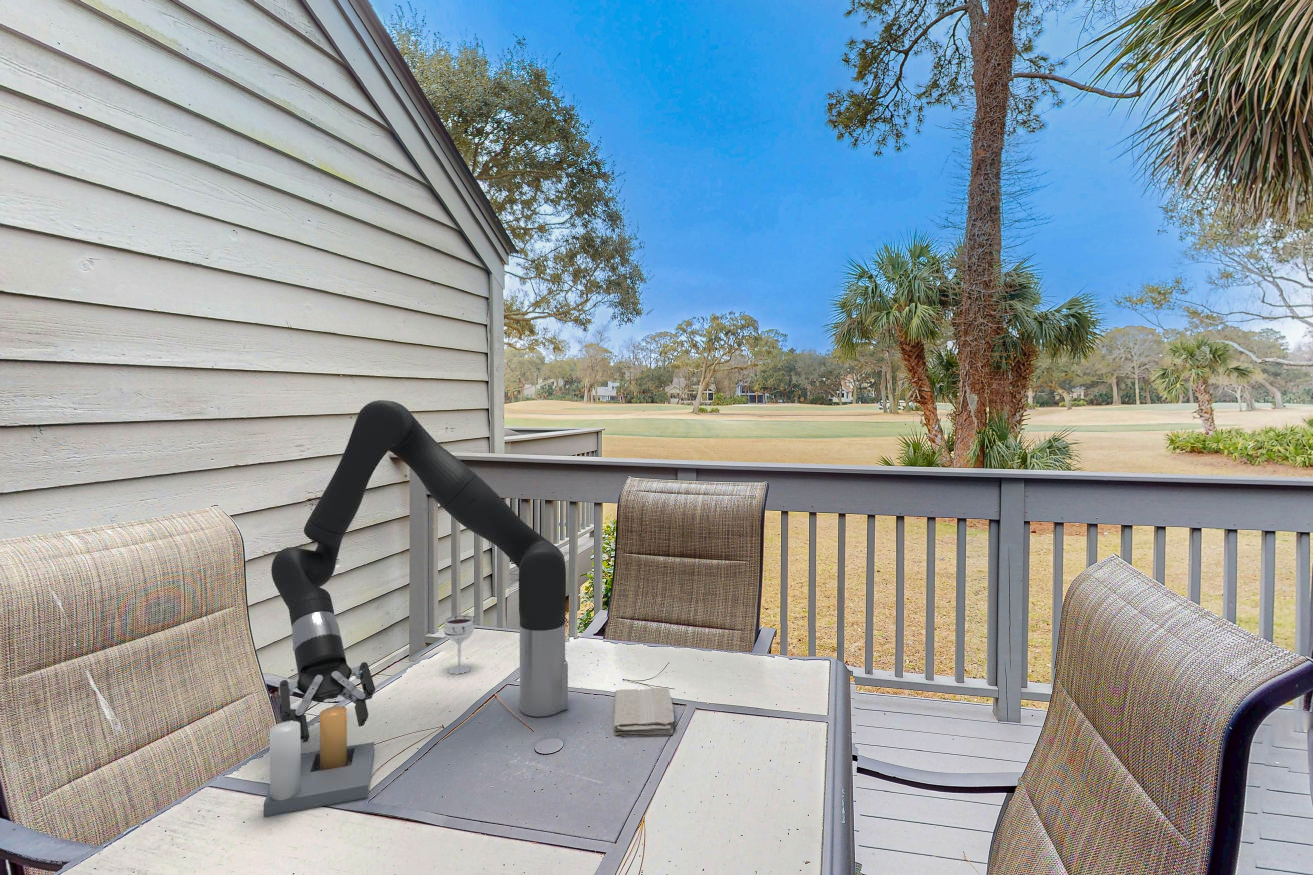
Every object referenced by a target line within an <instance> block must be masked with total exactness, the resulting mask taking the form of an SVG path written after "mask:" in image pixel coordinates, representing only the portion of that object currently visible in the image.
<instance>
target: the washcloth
mask: <svg viewBox="0 0 1313 875" xmlns="http://www.w3.org/2000/svg"><path fill="white" fill-rule="evenodd" d="M613 697H614V698H613V700H614V701H613V703H614V705H613V708H614V709H613V720H612V721H613V722H612V723H613V725H612V726H613V735H614V736H613V737H617V736H621V737H627V738H628V737H629V738H631V737H635V738H637V737H638V738H639V737H663V736H664V737H665V736H671V735H673V734H674V723H675V714H674V711H675V710H674V706H673V701H672V697H671V692H670V688H669V687H651V688H647V689H646V688H642V689H638V688H637V689H635V688H633V689H632V688H631V689H629V688H627V689H616V690H615V691H614V695H613Z"/></svg>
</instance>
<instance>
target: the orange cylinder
mask: <svg viewBox="0 0 1313 875" xmlns="http://www.w3.org/2000/svg"><path fill="white" fill-rule="evenodd" d="M347 710H348V709H347V708H346V707H345V706H341V705H339V706H337V705H336V706H330V707H327V708H325V709H323V710H322V711H320V712H319V751H320V765H319V771H321V770H327V769H333V768H339V767H345V766H348V760H347V746H348V738H347V737H348V733H347V732H348V727H347V725H348V724H347V718H348V717H347Z"/></svg>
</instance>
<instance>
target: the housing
mask: <svg viewBox="0 0 1313 875" xmlns="http://www.w3.org/2000/svg"><path fill="white" fill-rule="evenodd" d="M301 750H302V749H301V740H300V723H299V722H297V721H291V720H287V721H282V722H281V723H277V724H275V725H273V726H271V728H270V729H269V776H270V777H269V783H270V784H269V789H268V791H267V794H266V796H265V800H264V802H263V818H265V817H270V816H276V815H281V814H282V815H283V814H286V813H293V812H297V811H302V810H303V811H304V810H307V809H313V808H319V807H323V806H330V805H336V804H341V803H348V802H353V801H357V800H362V799H368V798H369V792H370V786H371V779H372V772H373V766H374V765H373V764H374V758H375V742H374V741H372V742H367V743H360V744H354V745H347V761H351V764H350V765H347V766H345V767H339V768H333V769H327V770H321V771H320V770H316V766H320V750H314V751H309V752H308V751H307V752H302V751H301ZM301 752H302V753H301Z"/></svg>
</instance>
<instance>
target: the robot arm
mask: <svg viewBox="0 0 1313 875" xmlns="http://www.w3.org/2000/svg"><path fill="white" fill-rule="evenodd" d="M355 419H356V420H355V422H354V424H353V427H352V430H351V433H350V436H349V439H348V442H347V444H346V446H345V449H344V452H343V454H342V456H341V459H340V461H339V463H338V465H337V467H336V469H335V471H334V473H333V475H332V478H331V479H330V481H329V482H328V484H327V486H326V487H325V490H324V491H323V493H322V495H321V496H320V498H319V499H318V501H317V503H316V505H315V507H314V509H313V510H312V512H311V514H310V515H309V517H308V519H307V521H306V523H305V526H304V527H303V533H304V535H305V537H307V538H308V539H310V541H313V542H315V543H317V545H316V548H315V550H314V549H307V548H301V547H294V546H290V547H285V548H283V549H281V550H280V551H278V553H277V554H276V555H275V556H274V558H273V560H272V562H271V563H272V564H271V567H270V568H271V569H270V570H271V572H270V573H271V578H272V580H273V583H274V586H275V588H276V589H277V591H278V593H279V595H280V597H281V598H282V600H283V602H284V603H285V605H286V606H287V609H288V612H289V619H290V626H291V639H292V640H291V641H292V651H293V653H294V658H295V664H296V669H297V670H296V671H297V675H298V678H297V680H292V681H288V680H287V679H283V680H281V681H280V682H279V685H278V686H279V687H278V689H277V691H278V692H277V693H278V705H279V706H278V707H279V717H280V718H279V719H280V721H281V722H288V721H297V722H299V723H300V741H301V743H302V744H304V743H307V742H309V738H310V731H309V728H308V727H309V726H308V721H307V715H306V712H307V711H308V710H309V708H310V706H311V704H312V702H316V703H321V702H324V701H325V700H329V699H330V700H333V699H337V698H338V697H339V696H341V698H343V699H345V700H349V701H350V702H351V703H353V704H354V705H355V706H354V710H355V716H356V721H357V724H358V727H363V726H364V725H365V724H366V722H367V721H368V718H369V712H368V706H367V702H366V701H368V700H371V699H373V696H374V693H375V692H376V687H375V683H374V680H373V677H372V674H371V670H370V668H369V667H370V666H369V664H368V663H367V661H363V662H361V663H360V665H358V666H354V667H350V666H349V665H348V663H347V657H346V653H345V649H344V644H343V639H342V636H341V635H342V634H341V631H340V626H339V623H338V621H337V618H336V613H335V610H334V606H333V601H332V597H331V594H330V593H329V591H328V590H327V589H324V588H323V587H322V586H324V585H325V584H327V583H328V582H329V580H331V578H332V577H333V574H334V572H335V570H336V564H337V560H338V556H339V552H340V548H341V546H342V541H343V538H344V536H345V534H346V532H347V531H348V529H349V527H350V526H351V524H352V522H353V520H354V518H355V516H356V514H357V513H358V511H359V509H360V506H361V504H362V501H363V499H364V495H365V493H366V490H367V486H368V485H369V481H370V480H371V477H372V476H373V473H374V471H375V470H376V468H377V467H378V465H379V463H380V462H381V461H382V459H383V458H384V457H385V455H386V454H387V453H388V452H391V453H392V454H393V455H395V456H396V457H397V458H398V459H400V460H401V461H402V462H403V463H404V464H406V465H407V466H408V467H409V468H410V469H411V470H412V471H413V472H414V473H415V474H416V476H417V477H418V479H419V481H420V482H422V485H423V486H424V487H425V489H426V490H427V491H428V493H429V494H430V495H431V497H432V498H433V499H434V500H435V502H437V503H438V505H439V506H440V507H441V508H442V509H444V511H446V512H447V513H448V514H449V515H450V516H451V517H452V518H453V519H455V520H456V521H457V522H458V523H459V524H461V525H462V526H463V527H465V528H466V529H468V530H469V531H471V532H472V533H474V534H476V535H478V536H479V537H481V538H483V539H485V540H487V541H488V542H490V543H491V544H493V545H494V546H496V547H497V548H498V549H500V551H502V553H504V555H506V556H507V557H508V559H510V561H512V563H513V564H514V565H516V567H517V569H518V615H519V616H518V618H519V710H520V712H521V713H522V714H524V715H526V716H529V717H537V718H538V717H547V716H548V717H549V716H552V715H556V714H558V713H560V712H562V711H566V710H568V709H569V707H568V706H569V705H568V704H569V702H568V701H569V697H568V696H569V686H568V685H569V672H568V671H569V663H568V661H567V659H566V615H567V614H566V613H567V612H566V611H567V605H566V604H567V600H566V599H567V594H566V593H567V570H566V568H567V567H566V560H565V557H564V554H563V552H562V551H561V550H560V548H559V547H557V545H555V544H554V543H552V542H551V541H549V540H548V539H546V538H545V537H544V536H542V535H541V534H539V533H538V532H537V531H536V530H534V529H533V528H532V527H530V526H529V525H528V524H527V523H525V522H524V521H523V520H522V519H521V518H520V517H519V516H518V515H517V513H516V512H515V511H514V510H513V509H512V508H511V507H510V506H509V505H508V504H507V503H506V501H505V500H503V498H502V497H501V496H500V495H498V493H497V492H496V491H495V490H494V489H493V488H492V487H491V486H490V485H489V483H486V481H485V480H483V479H482V478H481V477H480V476H479V475H478V474H476V472H474V471H473V470H472V469H471V468H469V466H467V465H466V464H465V463H463V461H461V460H460V459H459V458H458V457H456V456H455V455H454V454H452V452H450V451H448V450H447V449H446V448H444V447H443V446H442V445H441V444H440V443H438V441H436V440H435V439H434V438H433V437H432V435H430V433H429V432H428V431H427V430H426V429H425V428H424V427H423V426H422V425H421V424H420V422H419V421H418V420H417V419H416V418H415V416H414V415H413V414H412V412H410V410H409V409H408V408H406V407H405V406H404V405H403V404H401V403H399V402H396V401H393V400H387V399H386V400H385V399H380V400H373V401H371V402H369V403H367V404H366V405H364V406H363V407H362V408H360V410H359V412H358V414H357V416H356V418H355ZM352 676H354V677H355V679H356V680H359V681H360V683H361V688H362V690H361V689H360V688H358V687H356V686H357V685H355V683H353V681H351V680H350V679H351V677H352ZM296 689H297V690H298V691H299V692H300V693H301V694H303V697H302V699H301V701H300V703H299V704H298V706H297V708H296V709H295V708H291V700H290V699H291V698H290V697H291V696H292V695H293V694H294V690H296Z"/></svg>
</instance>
